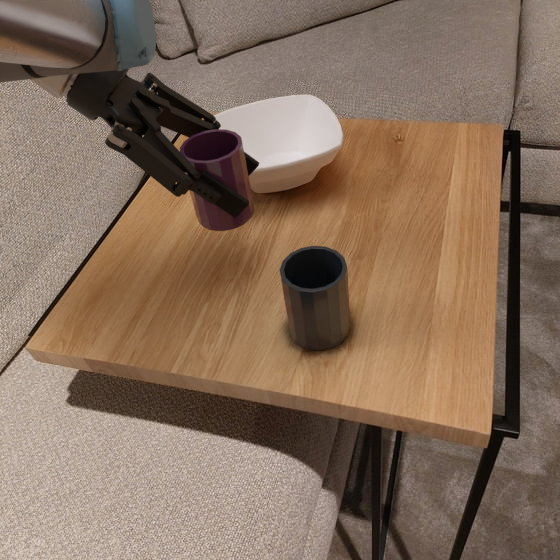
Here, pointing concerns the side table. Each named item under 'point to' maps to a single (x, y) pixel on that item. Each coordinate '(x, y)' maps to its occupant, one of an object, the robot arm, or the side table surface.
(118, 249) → the side table surface
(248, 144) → the bowl
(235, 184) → the plum cup
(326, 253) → the slate cup
